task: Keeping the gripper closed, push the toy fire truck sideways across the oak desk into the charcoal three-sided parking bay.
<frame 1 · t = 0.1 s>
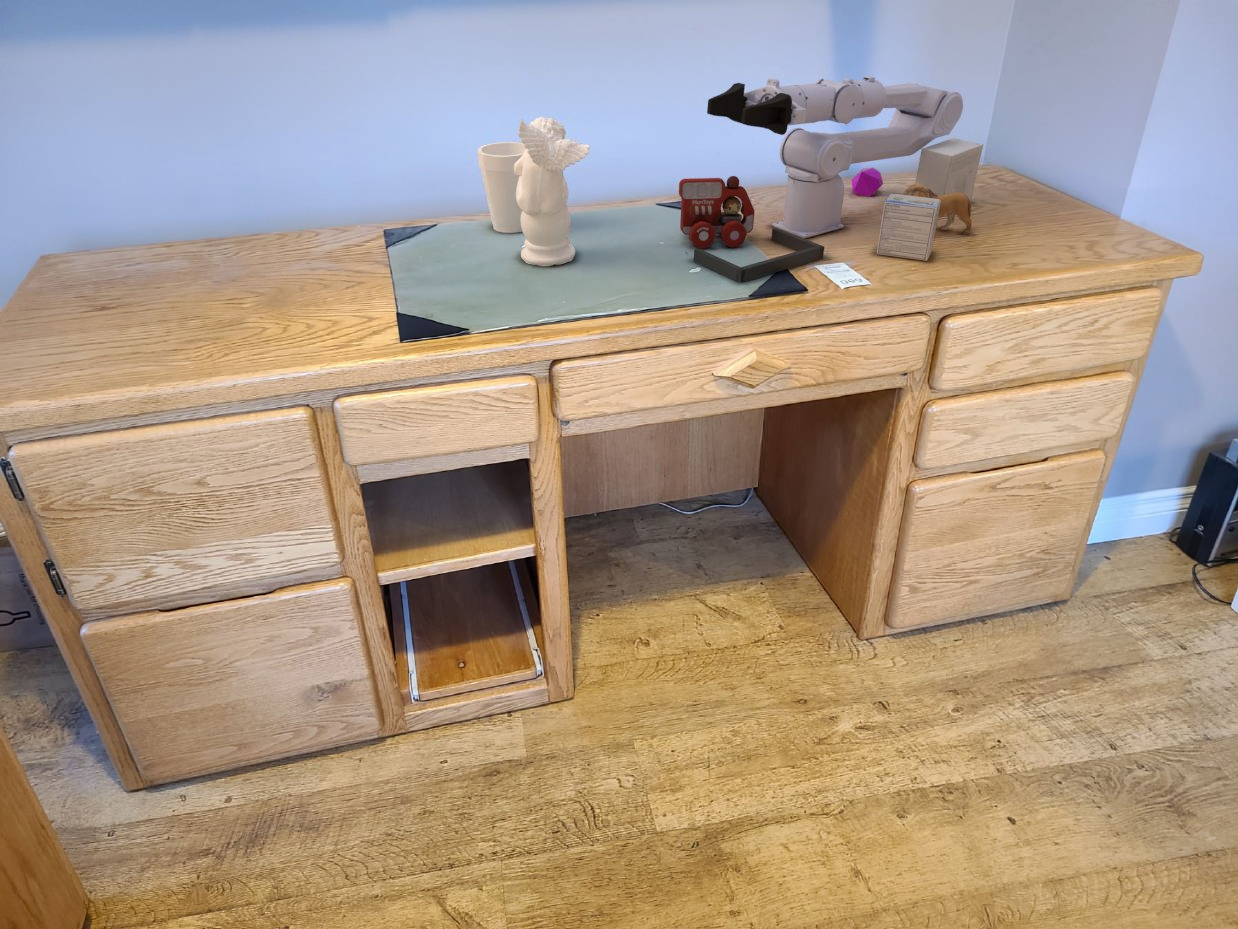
hand: (725, 111, 131), 21 cm above the table, tool horizontal, fingers open, 7 cm apart
toy fire truck: (715, 242, 147), on the table
crystal: (865, 193, 169), on the table
parking bay: (758, 260, 140), on the table
white flower pot: (511, 227, 154), on the table
cosmetics box: (939, 205, 162), on the table, touching arm
lion figurine: (933, 236, 149), on the table
medicine box: (903, 255, 142), on the table
cherub figurine: (556, 261, 140), on the table
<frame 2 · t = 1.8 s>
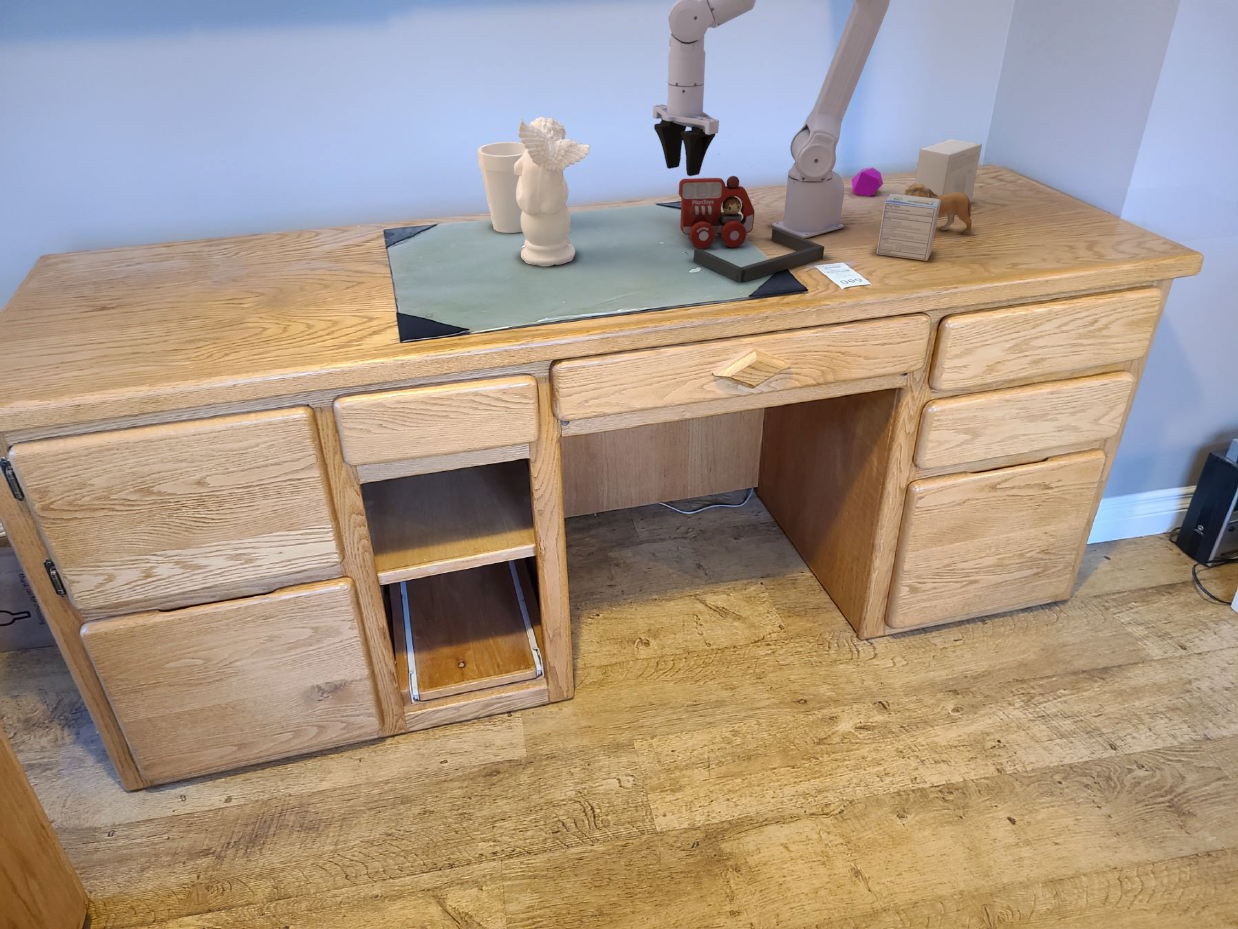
hand: (683, 171, 148), 9 cm above the table, tool pointing down, fingers open, 5 cm apart
cosmetics box: (940, 206, 162), on the table
everything else where it was.
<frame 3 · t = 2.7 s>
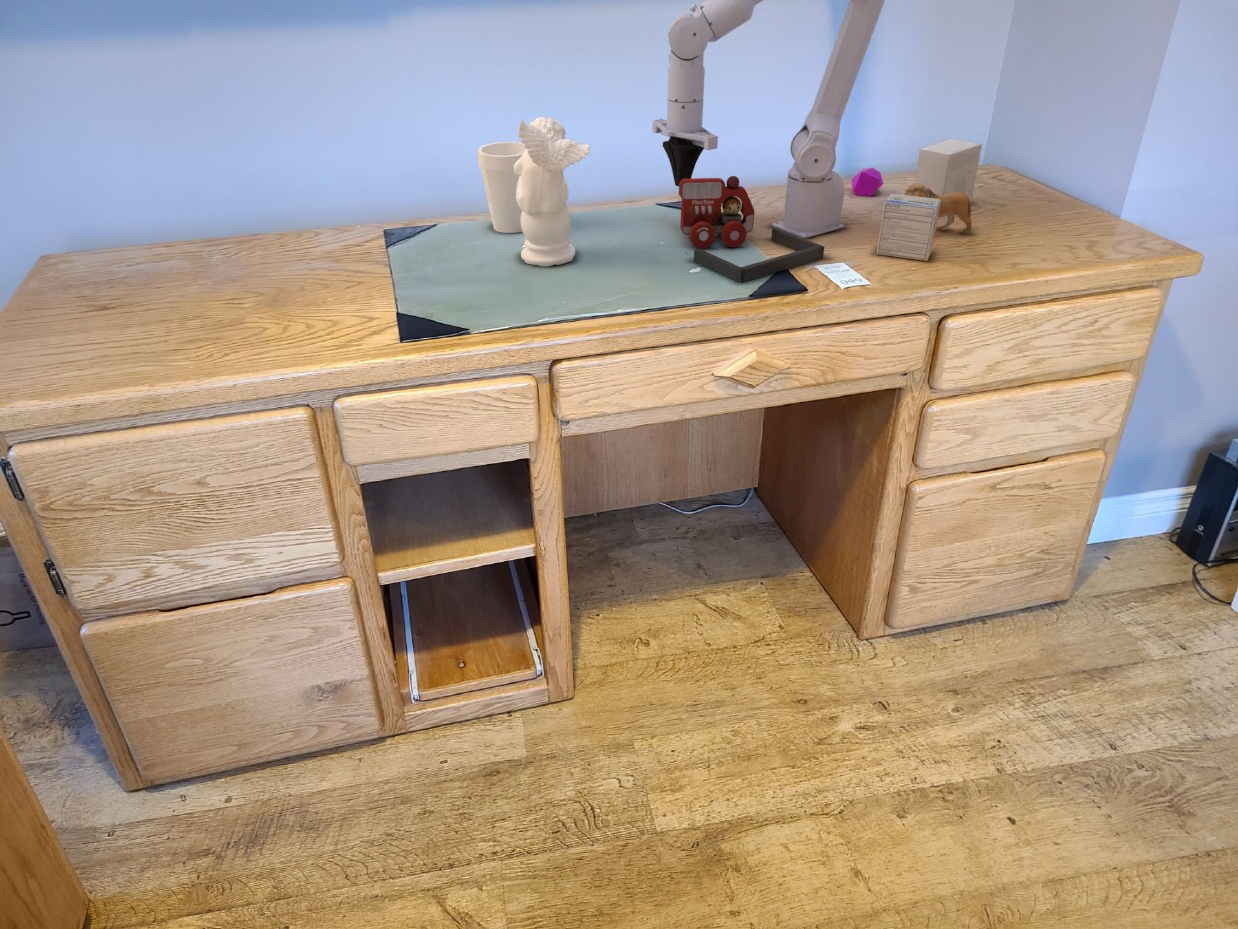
hand: (682, 185, 149), 7 cm above the table, tool pointing down, fingers closed
nothing on the table moved.
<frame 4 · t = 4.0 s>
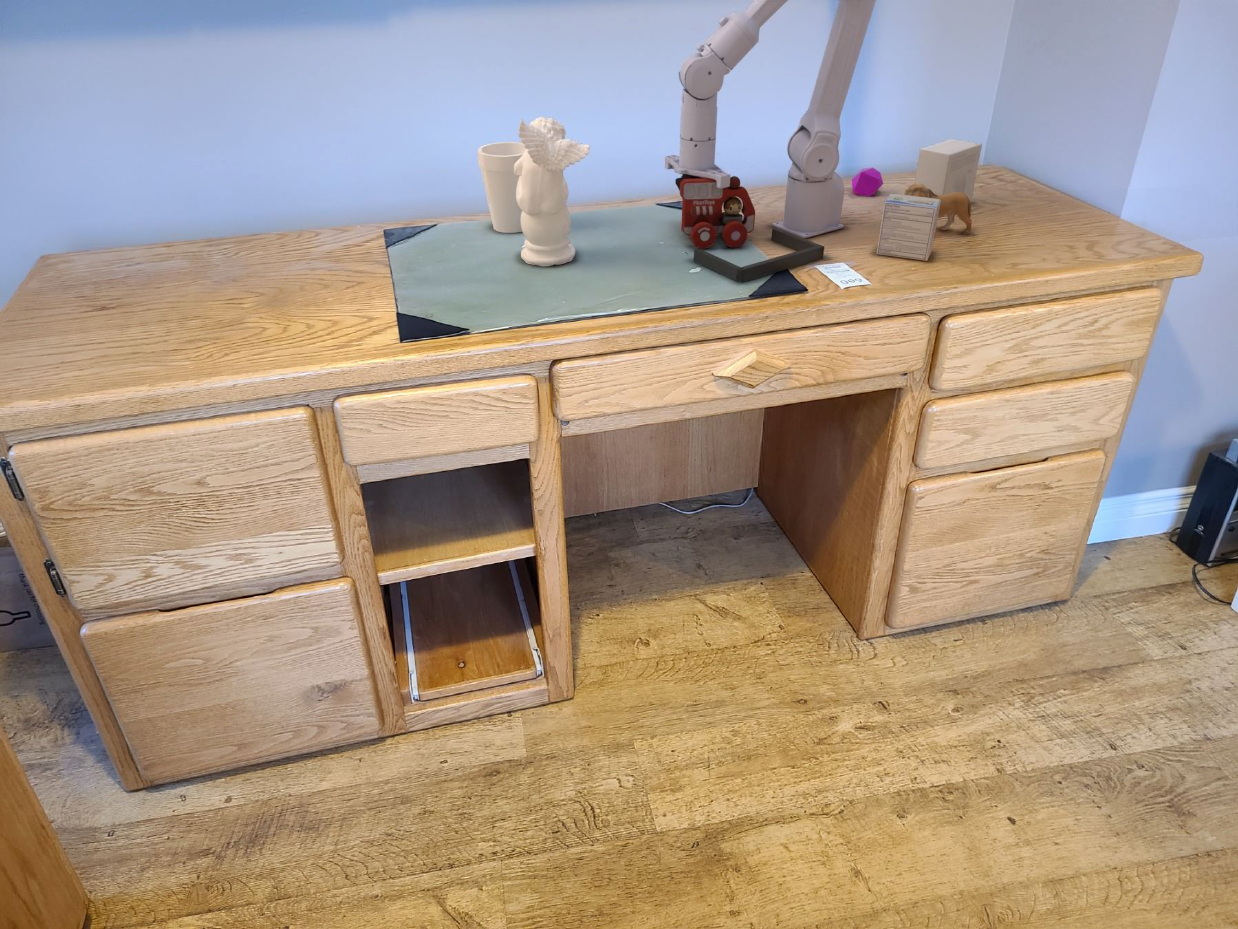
hand: (694, 221, 150), 2 cm above the table, tool pointing down, fingers closed
toy fire truck: (715, 242, 147), on the table, touching gripper
everything else where it was.
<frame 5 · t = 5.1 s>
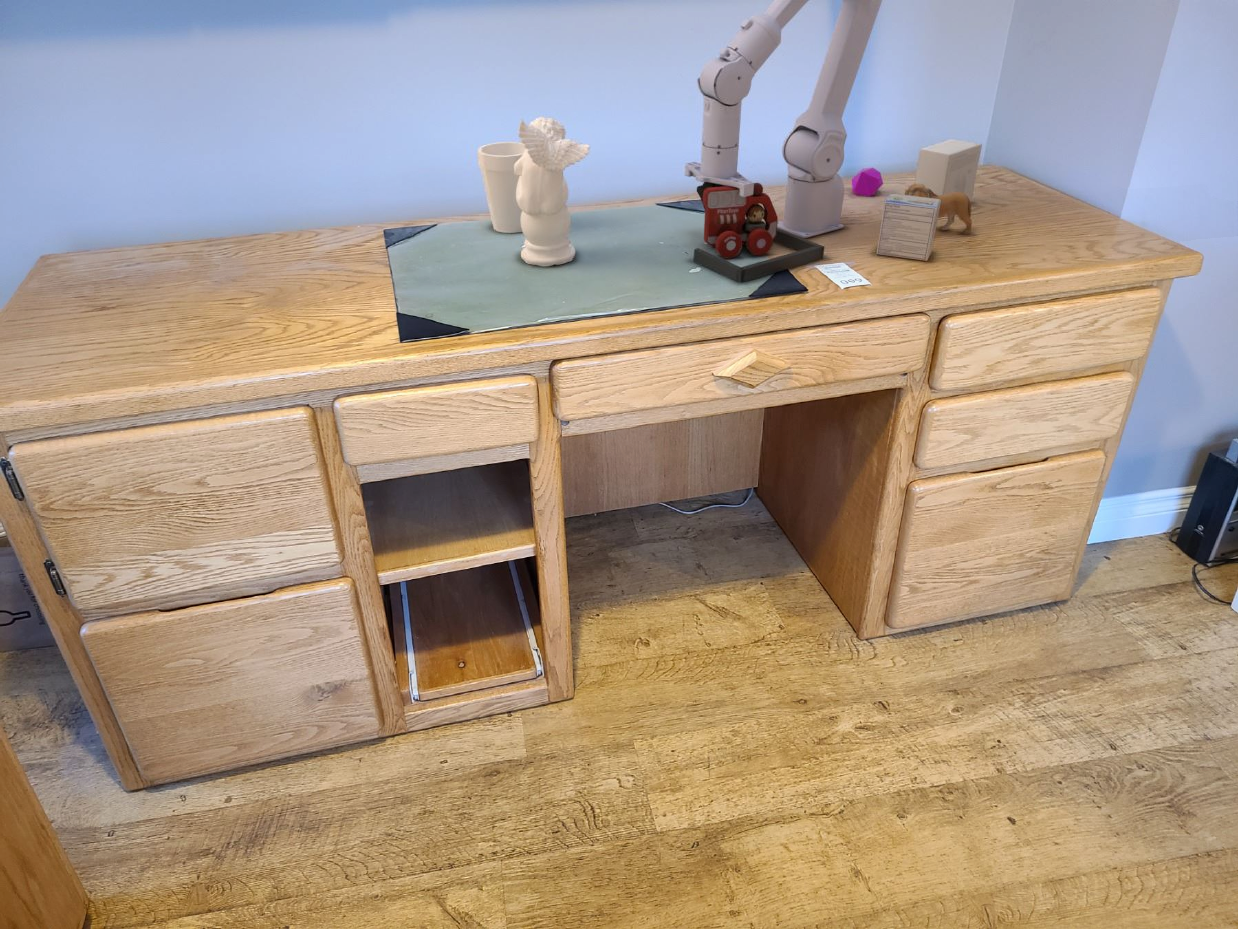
hand: (715, 229, 146), 2 cm above the table, tool pointing down, fingers closed
toy fire truck: (738, 251, 143), on the table, touching gripper
everything else where it was.
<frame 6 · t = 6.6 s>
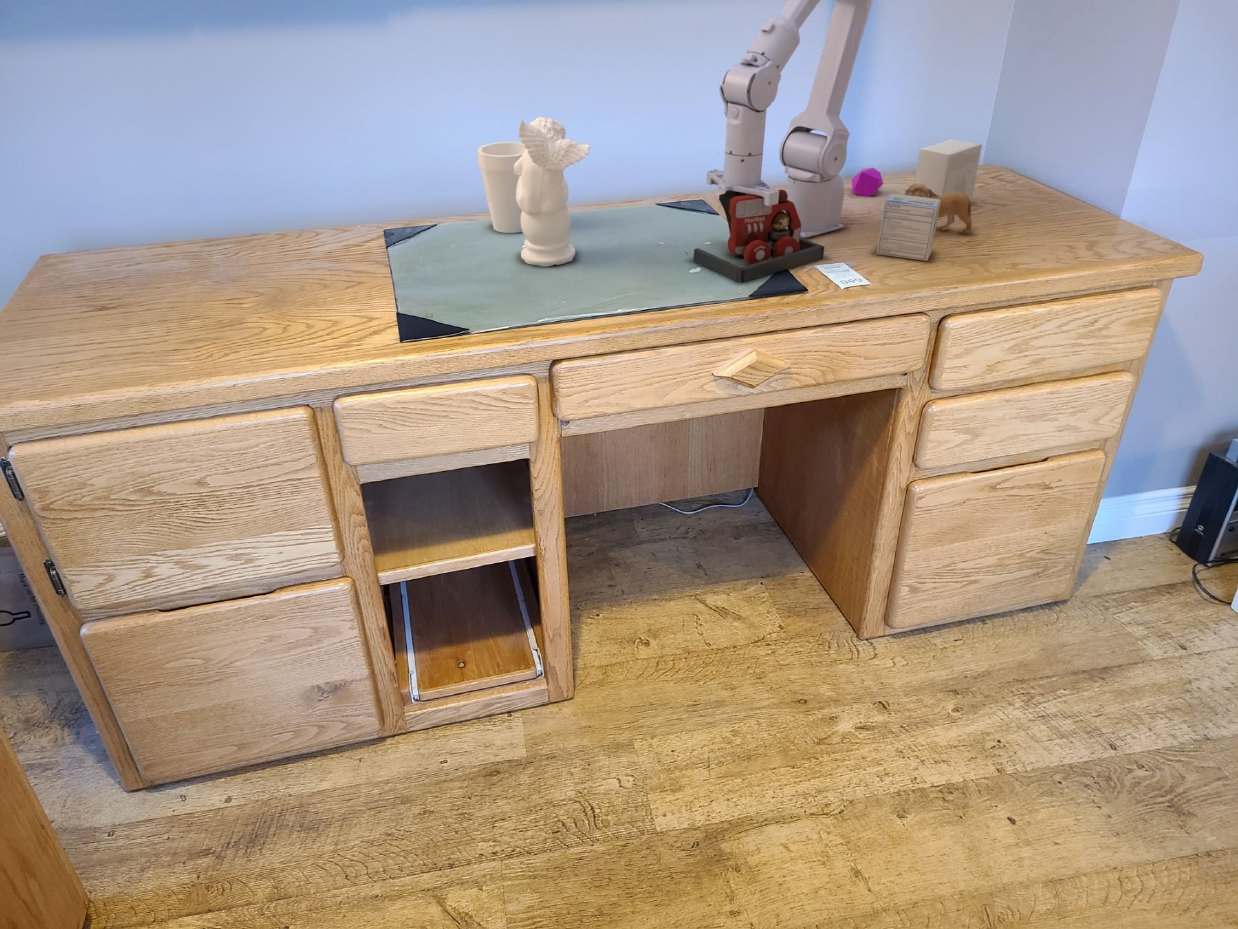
hand: (737, 239, 142), 2 cm above the table, tool pointing down, fingers closed
toy fire truck: (762, 260, 140), on the table, touching gripper
everything else where it was.
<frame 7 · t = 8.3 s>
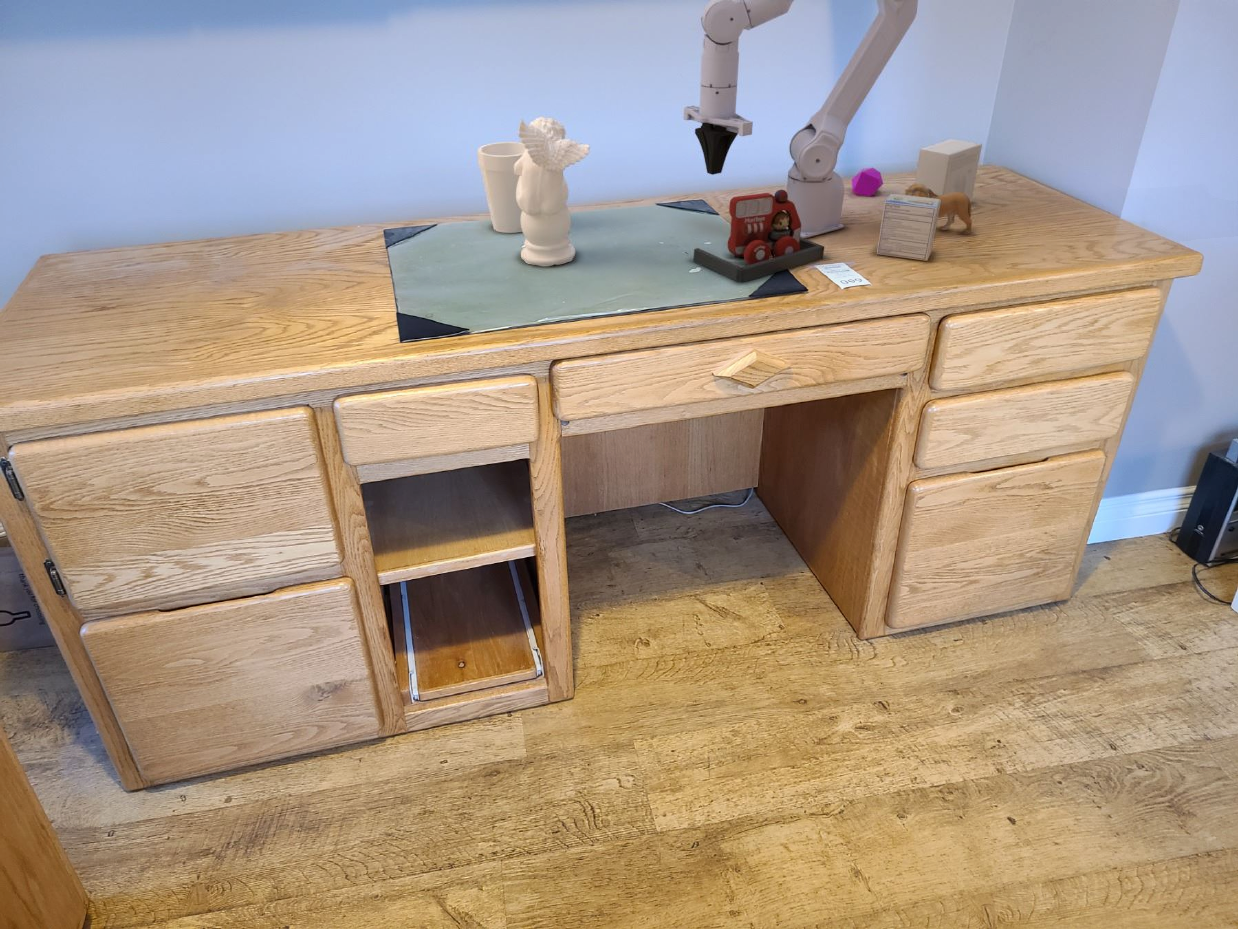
hand: (714, 172, 147), 9 cm above the table, tool pointing down, fingers closed
toy fire truck: (762, 260, 140), on the table
everything else where it was.
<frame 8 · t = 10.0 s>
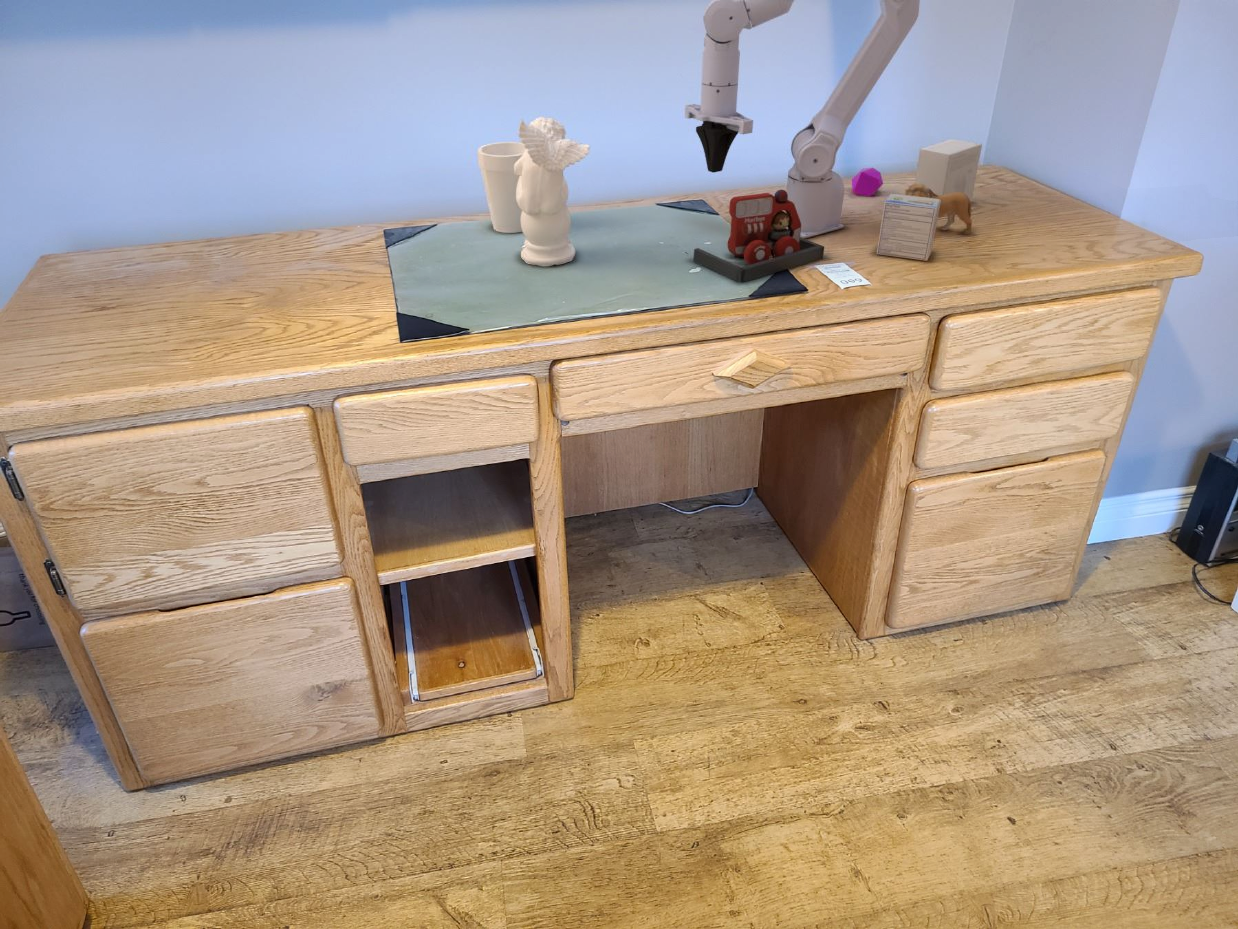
hand: (715, 170, 148), 9 cm above the table, tool pointing down, fingers closed
nothing on the table moved.
at the end: toy fire truck inside the target area (0.9 cm from its centre), on the table; toy fire truck tilted 0°; toy fire truck moved 10.6 cm from its start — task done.
